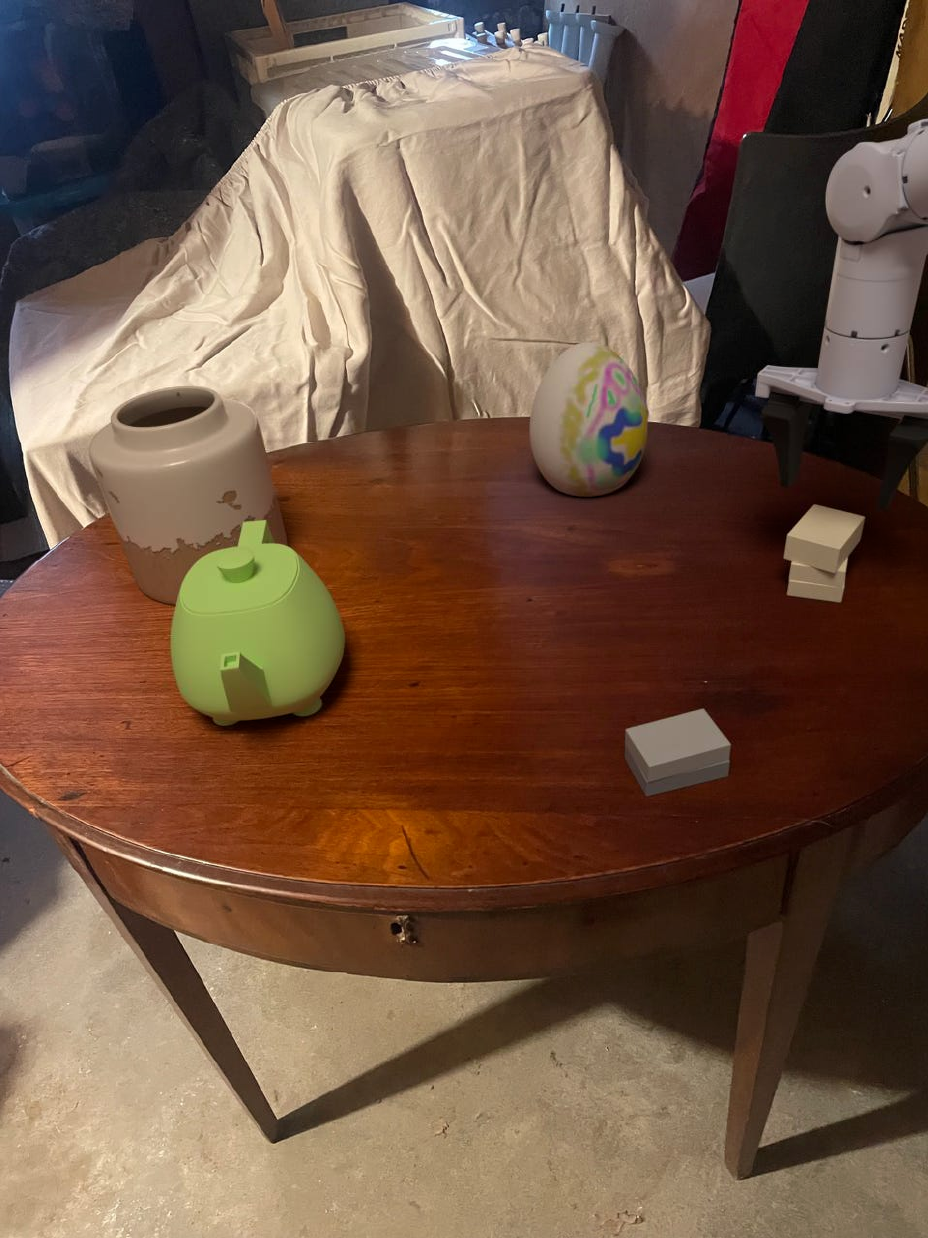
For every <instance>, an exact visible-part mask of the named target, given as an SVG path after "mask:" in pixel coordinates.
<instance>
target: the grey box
mask: <svg viewBox="0 0 928 1238" xmlns="http://www.w3.org/2000/svg"><path fill="white" fill-rule="evenodd" d="M624 730H625V733H624V734H625V735H624V736H625V738H624V739H625V740H624V760H625V762H626V763H627V766H628V767H629V769H630V771H631V772H632V774H633V776H634V778H635V779H636V782H637V784H638V785H639V787H640V789H641V791H642V792H643V794H644V796H645V798H646V797H650V796H656V795H659V794H662V793H663V794H664V793H667V792H671V791H675V790H679V789H683V788H686V787H691V786H696V785H699V784H702V783H707V782H711V781H715V780H718V779H719V780H720V779H723V778H727V777H729V771H730V763H731V761H730V753H731V746H732V744H731V743H730V742H729V740H728V738H727V737H726V736H725V734H724V733H723V732H722V731H721V730H720V728H719V727H718V726H717V724H716V723H715V721H714V720H713V719H712V718H711V716H710V715H709V714H708V712H707V711H706V710H705V708H699V709H696V710H693V711H688V712H685V713H684V712H683V713H681V714H677V715H674V716H670V717H669V716H668V717H665V718H662V719H658V720H654V721H651V722H648V723H643V724H639V725H637V726H632V727H629V728H626V729H624Z"/></svg>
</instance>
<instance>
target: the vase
mask: <svg viewBox="0 0 928 1238" xmlns="http://www.w3.org/2000/svg"><path fill="white" fill-rule="evenodd" d="M262 434H263V433H262V429H261V425H260V422H259V418H258V416H257V415H256V413H255V411H254V410H253V409H252V408H251V407H250V406H248V405H247V404H245V403H244V402H242V401H239V400H236V399H231V398H225V397H222V395H221V394H220V393H219V392H218V391H216V390H215V389H213V388H211V387H207V386H201V385H177V386H170V387H164V388H159V389H153V390H151V391H148V392H145V393H141V394H139V395H136V396H134V397H132V398H129V399H127V400H126V401H125V402H123V403H121V404H120V405H119V406H116V407H115V409H114V410H113V411H112V413H111V415H110V422H109V423H108V424H106V425H105V426H104V427H102V428H101V429H100V430H98V432H97V433H96V434H95V435H94V436H93V437H92V439H91V441H90V443H89V445H88V456H89V461H90V464H91V466H92V470H93V472H94V475H95V477H96V480H97V483H98V486H99V488H100V491H101V493H102V496H103V499H104V502H105V504H106V507H107V510H108V513H109V515H110V518H111V521H112V522H113V526H114V528H115V531H116V534H117V537H118V540H119V541H120V544H121V547H122V550H123V552H124V555H125V557H126V560H127V564H128V565H129V569H130V571H131V574H132V577H133V579H134V581H135V583H136V585H137V587H138V588H139V590H140V591H141V592H142V593H143V594H145V595H146V596H147V597H149V598H150V599H151V600H154V601H156V602H159V603H161V604H162V603H163V604H167V605H173V606H176V602H177V598H178V594H179V591H180V588H181V585H182V582H183V580H184V578H185V576H186V575H187V573H188V572H189V570H190V569H191V568H192V566H193V565H194V564H195V563H196V562H197V561H198V560H200V559H201V558H202V557H204V556H205V555H207V554H209V553H211V552H214V551H217V550H221V549H226V548H231V547H237V546H238V543H239V538H240V534H241V530H242V526H243V522H250V521H261V520H267V523H268V526H269V529H270V532H271V535H272V537H273V540H274V543H275V544H282V545H285V546H288V547H289V544H288V538H287V533H286V529H285V524H284V521H283V515H282V513H281V508H280V503H279V499H278V496H277V491H276V487H275V483H274V479H273V474H272V470H271V466H270V462H269V458H268V454H267V449H266V446H265V442H264V438H263V435H262Z"/></svg>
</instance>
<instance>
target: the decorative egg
mask: <svg viewBox="0 0 928 1238" xmlns="http://www.w3.org/2000/svg"><path fill="white" fill-rule="evenodd" d="M531 406H532V407H531V411H530V417H529V443H530V448H531V452H532V456H533V459H534V461H535V464H536V466H537V468H538V470H539V471H540V473H541V474H542V476H543V478H544V479H545V480H546V481H547V483H549V484H550V485H551V487H553V489H555V490H556V491H559V492H560V493H563V494H565V495H570V496H573V497H574V496H575V497H584V498H585V497H586V498H592V497H597V496H598V497H599V496H604V495H608V494H612V493H613V492H615V491H617V490H619V489H621V488H622V487H623V486H624V485H625V484H626V483H627V482H629V480H630V479H631V477H632V476H633V475H634V474H635V472H636V470H637V469H638V468H639V465H640V463H641V461H642V458H643V456H644V453H645V450H646V444H647V440H648V439H647V438H648V429H649V428H648V425H649V424H648V413H647V407H646V402H645V398H644V395H643V391H642V388H641V387H640V384H639V382H638V379H637V378H636V376H635V374H634V372H633V371H632V370H631V368H630V367H629V365H628V364H627V362H625V360H624V359H623V358H622V357H621V356H620V355H619V354H618V353H617V352H616V351H614V350H613V349H611V348H610V347H608V346H607V345H605V344H602V343H599V342H595V341H585V342H579V343H577V344H574V345H572V346H570V347H569V348H567V349H566V350H564V351H563V352H562V353H561V354H560V355H558V357H557V358H556V359H555V360H554V361H553V363H551V365H550V366H549V368H548V369H547V370H546V372H545V373H544V375H543V376H542V379H541V380H540V383H539V385H538V386H537V390H536V393H535V394H534V398H533V401H532V405H531Z"/></svg>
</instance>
